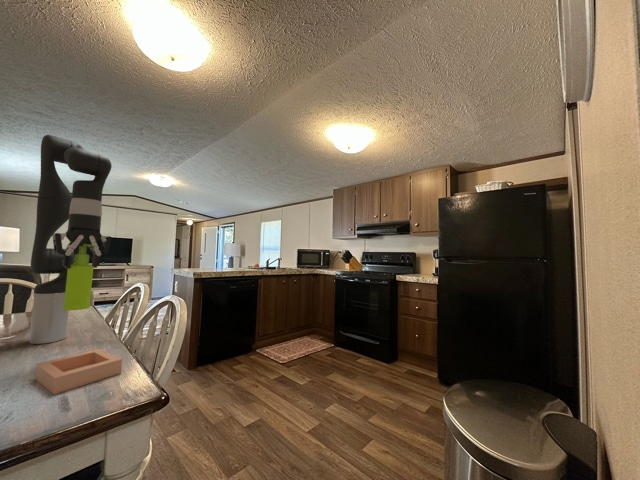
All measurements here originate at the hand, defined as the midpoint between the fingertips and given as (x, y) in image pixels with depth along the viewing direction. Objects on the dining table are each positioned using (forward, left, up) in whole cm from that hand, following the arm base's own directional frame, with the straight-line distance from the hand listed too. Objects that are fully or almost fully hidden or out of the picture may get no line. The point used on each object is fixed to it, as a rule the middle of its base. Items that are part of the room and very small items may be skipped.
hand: (81, 267), depth 80 cm
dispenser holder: (+16, -4, -27) cm, 32 cm away
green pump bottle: (0, 0, -13) cm, 13 cm away
